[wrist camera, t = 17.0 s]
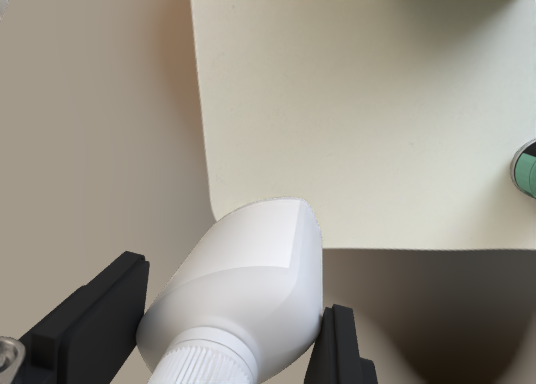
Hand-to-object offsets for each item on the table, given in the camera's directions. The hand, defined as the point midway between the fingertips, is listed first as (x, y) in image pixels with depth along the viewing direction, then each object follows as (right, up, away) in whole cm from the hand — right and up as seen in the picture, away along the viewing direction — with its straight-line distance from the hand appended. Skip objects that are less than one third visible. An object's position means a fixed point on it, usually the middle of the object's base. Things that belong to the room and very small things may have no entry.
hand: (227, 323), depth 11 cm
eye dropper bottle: (+1, +2, +7) cm, 7 cm away
